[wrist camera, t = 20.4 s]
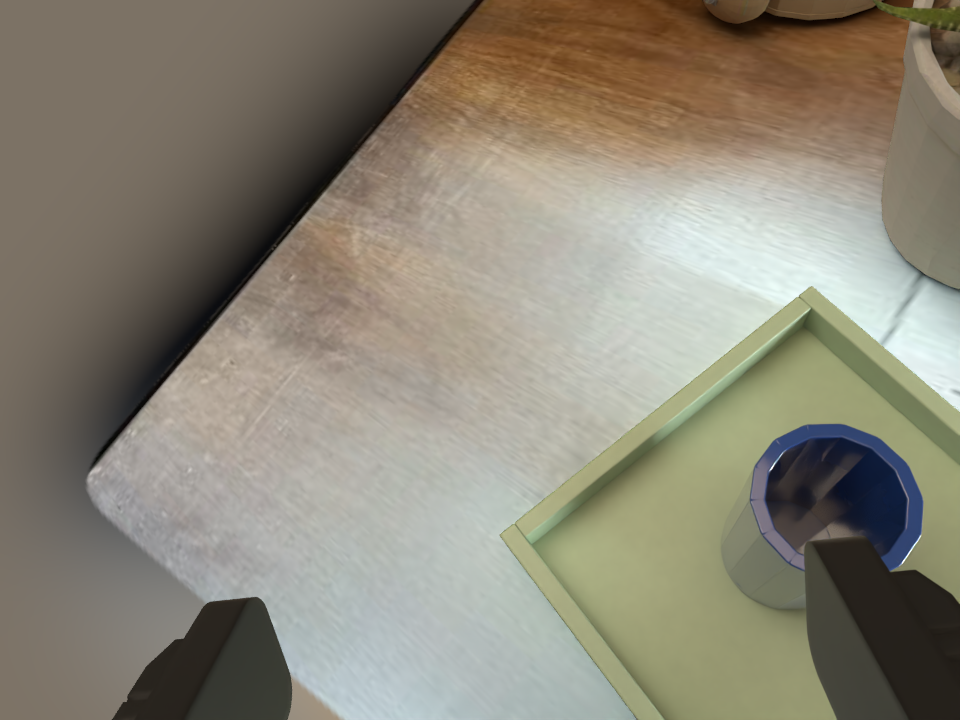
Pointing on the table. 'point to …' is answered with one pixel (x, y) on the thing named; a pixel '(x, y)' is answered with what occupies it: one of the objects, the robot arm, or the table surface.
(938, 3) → the potted plant
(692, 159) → the table surface
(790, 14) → the alarm clock
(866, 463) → the beaker
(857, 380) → the serving tray
